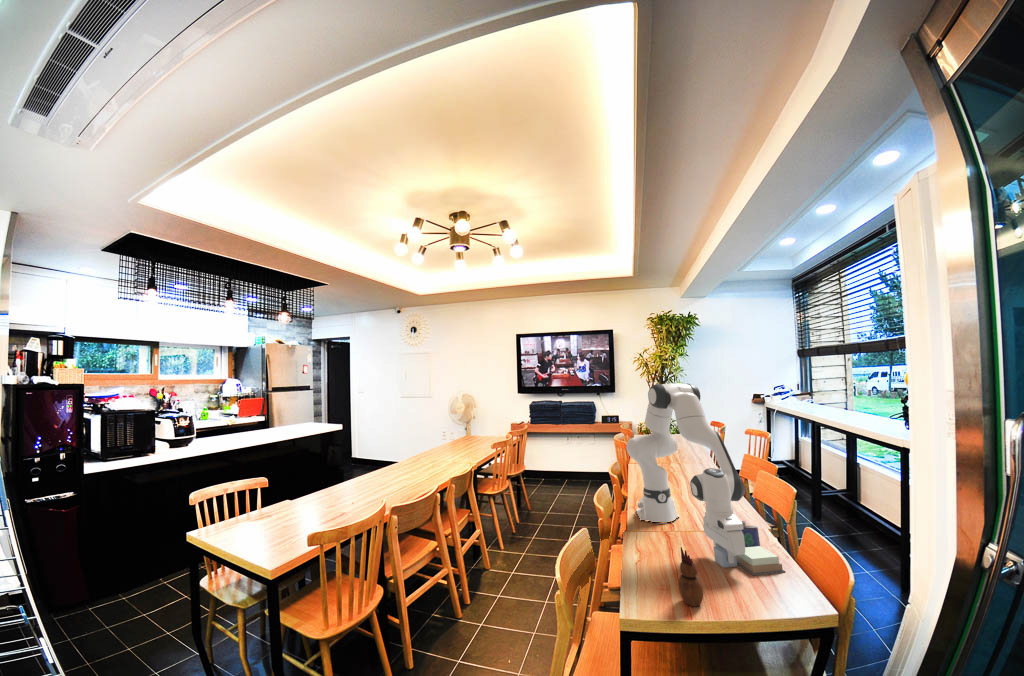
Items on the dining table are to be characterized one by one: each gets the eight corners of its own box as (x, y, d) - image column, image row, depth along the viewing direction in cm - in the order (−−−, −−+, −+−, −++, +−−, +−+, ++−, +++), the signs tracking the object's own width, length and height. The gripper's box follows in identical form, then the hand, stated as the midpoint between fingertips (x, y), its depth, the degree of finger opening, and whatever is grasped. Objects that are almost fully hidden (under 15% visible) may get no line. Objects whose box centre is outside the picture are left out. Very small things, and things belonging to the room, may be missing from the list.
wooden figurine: (677, 598, 121) (671, 545, 122) (695, 596, 121) (689, 543, 123) (688, 610, 114) (682, 554, 116) (708, 608, 114) (701, 552, 116)
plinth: (735, 560, 142) (733, 547, 142) (762, 557, 142) (761, 545, 143) (753, 573, 132) (751, 559, 132) (782, 570, 132) (780, 556, 133)
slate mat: (733, 561, 142) (733, 559, 142) (763, 558, 143) (763, 557, 143) (753, 575, 131) (752, 574, 131) (785, 572, 132) (785, 571, 132)
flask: (760, 550, 149) (756, 520, 150) (762, 553, 146) (757, 523, 148) (732, 548, 152) (728, 519, 154) (733, 551, 150) (729, 521, 151)
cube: (715, 561, 143) (713, 546, 143) (728, 560, 143) (727, 545, 144) (723, 567, 138) (721, 552, 138) (737, 566, 138) (735, 550, 139)
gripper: (696, 509, 152) (701, 547, 151) (727, 527, 132) (733, 572, 130) (713, 508, 153) (717, 546, 151) (746, 526, 132) (752, 570, 131)
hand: (725, 558), depth 141 cm, fingers closed on cube, 5 cm apart
